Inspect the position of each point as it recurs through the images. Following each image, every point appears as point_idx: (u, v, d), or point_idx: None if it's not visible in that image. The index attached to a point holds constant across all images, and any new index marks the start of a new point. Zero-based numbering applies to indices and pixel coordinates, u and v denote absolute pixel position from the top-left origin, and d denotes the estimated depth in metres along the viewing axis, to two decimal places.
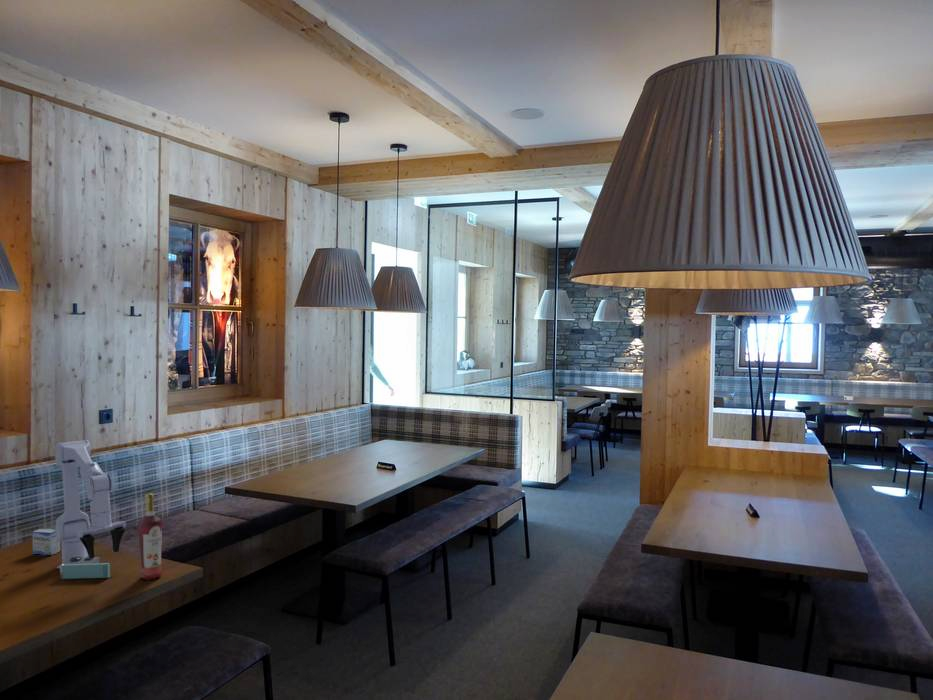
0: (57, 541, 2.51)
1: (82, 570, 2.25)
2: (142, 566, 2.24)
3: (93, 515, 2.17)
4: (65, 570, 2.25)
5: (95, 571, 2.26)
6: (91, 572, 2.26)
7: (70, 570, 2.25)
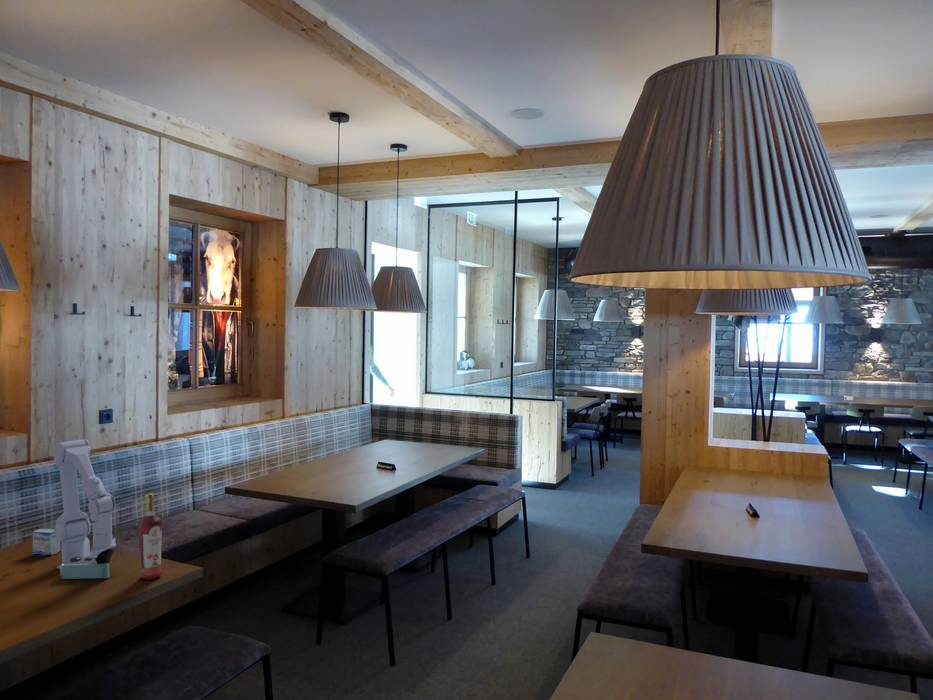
0: (57, 541, 2.51)
1: (82, 570, 2.25)
2: (142, 566, 2.24)
3: (101, 535, 2.25)
4: (65, 570, 2.25)
5: (95, 571, 2.25)
6: (91, 572, 2.25)
7: (70, 570, 2.25)
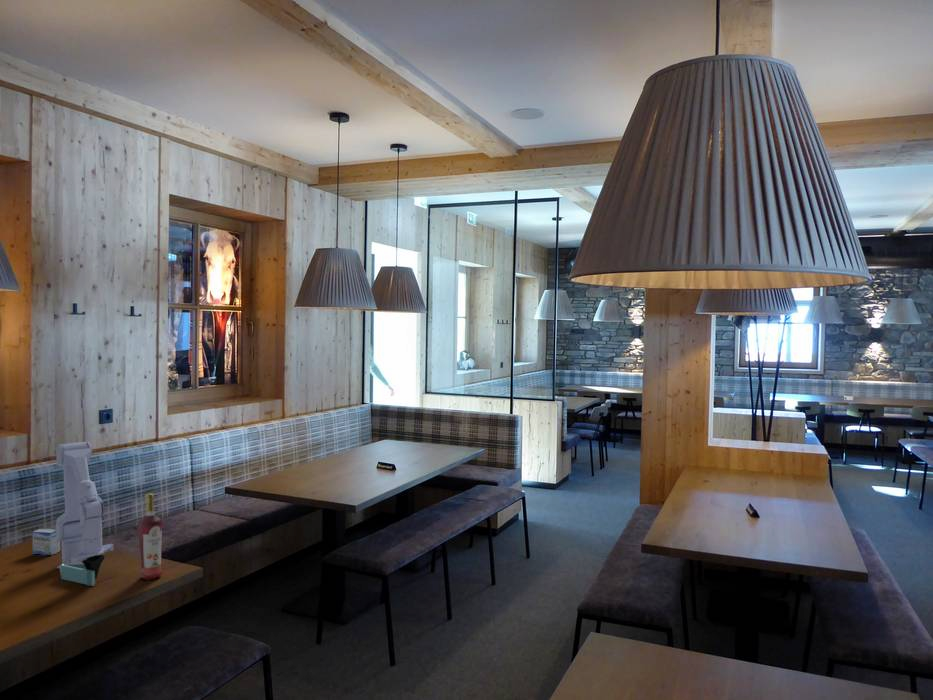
0: (57, 541, 2.51)
1: (74, 574, 2.22)
2: (142, 566, 2.24)
3: (87, 541, 2.19)
4: (63, 571, 2.24)
5: (83, 577, 2.21)
6: (80, 577, 2.21)
7: (66, 572, 2.24)
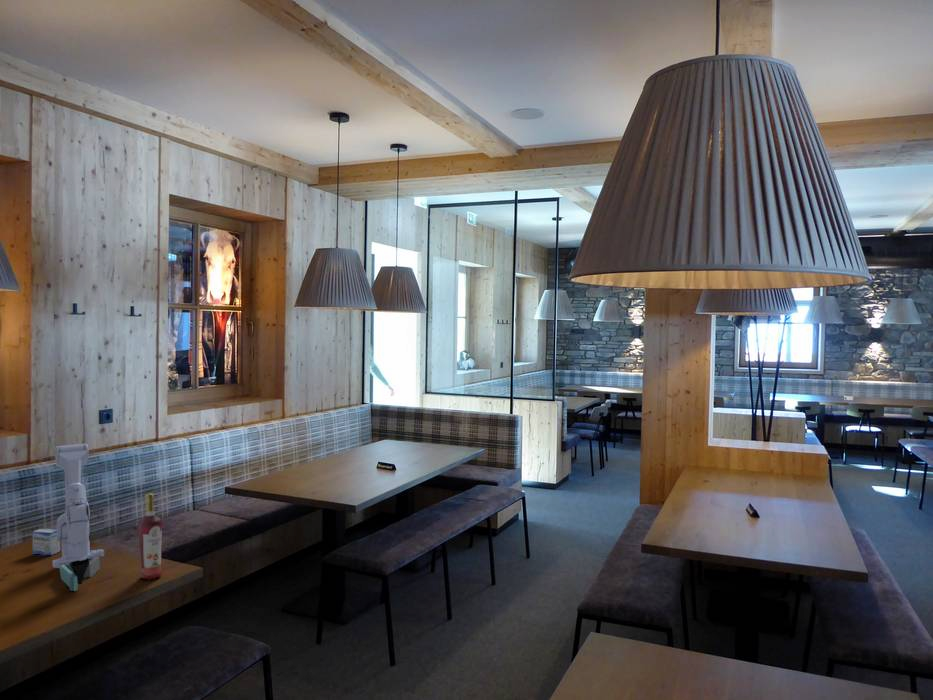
0: (57, 541, 2.51)
1: (66, 576, 2.20)
2: (142, 566, 2.24)
3: (70, 545, 2.15)
4: (61, 571, 2.24)
5: (70, 581, 2.17)
6: (68, 581, 2.18)
7: (62, 572, 2.23)
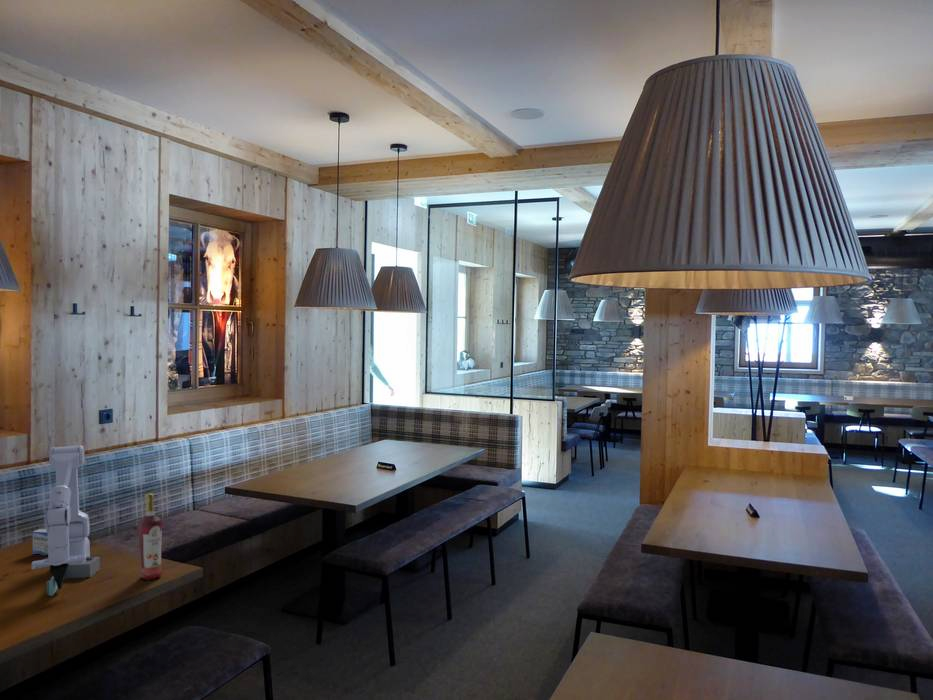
0: None
1: None
2: (142, 566, 2.24)
3: (48, 548, 2.12)
4: None
5: None
6: None
7: None
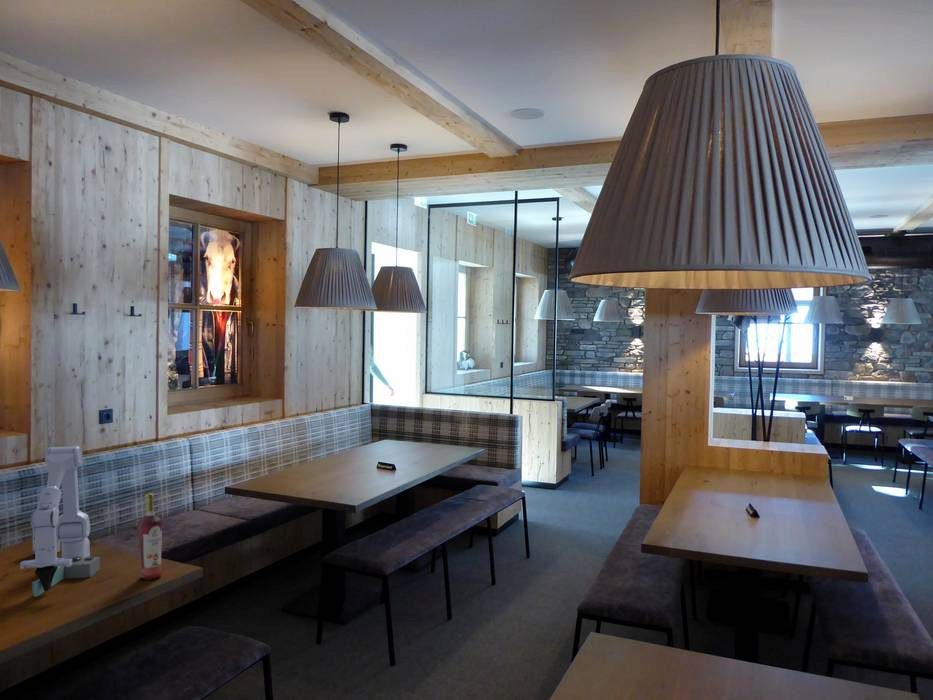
0: (57, 541, 2.51)
1: None
2: (142, 566, 2.24)
3: (35, 549, 2.11)
4: None
5: None
6: None
7: None
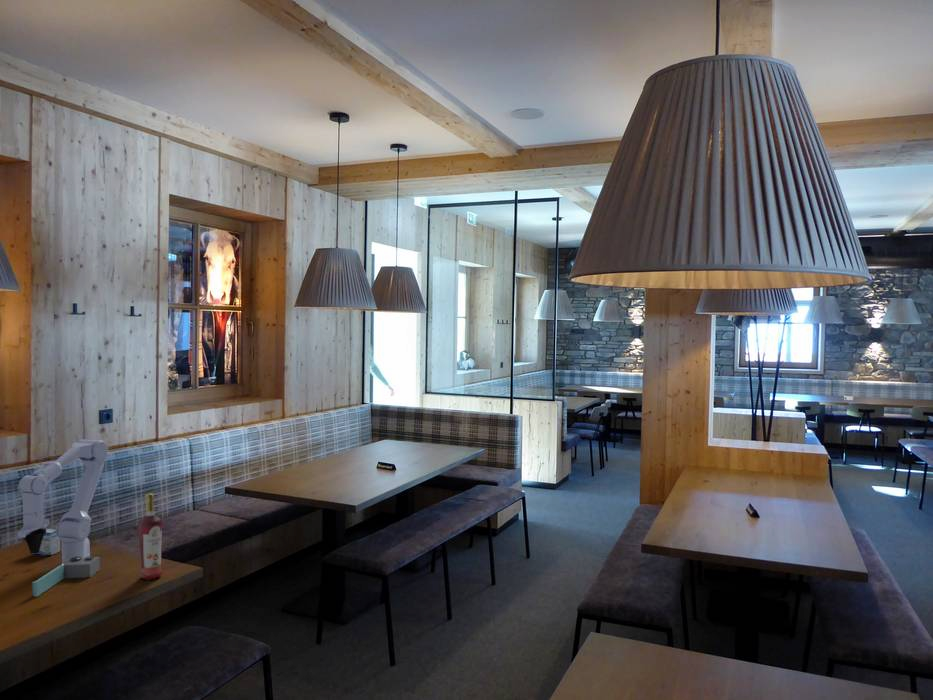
0: (57, 541, 2.51)
1: None
2: (142, 566, 2.24)
3: (31, 515, 2.21)
4: None
5: None
6: None
7: None
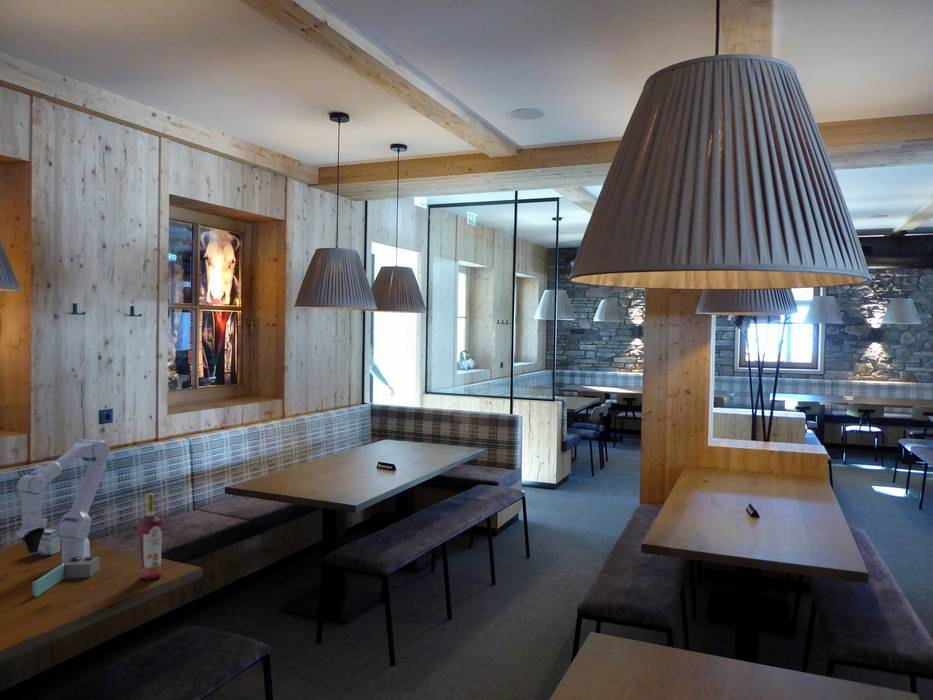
0: (57, 541, 2.51)
1: None
2: (142, 566, 2.24)
3: (30, 514, 2.21)
4: None
5: None
6: None
7: None
